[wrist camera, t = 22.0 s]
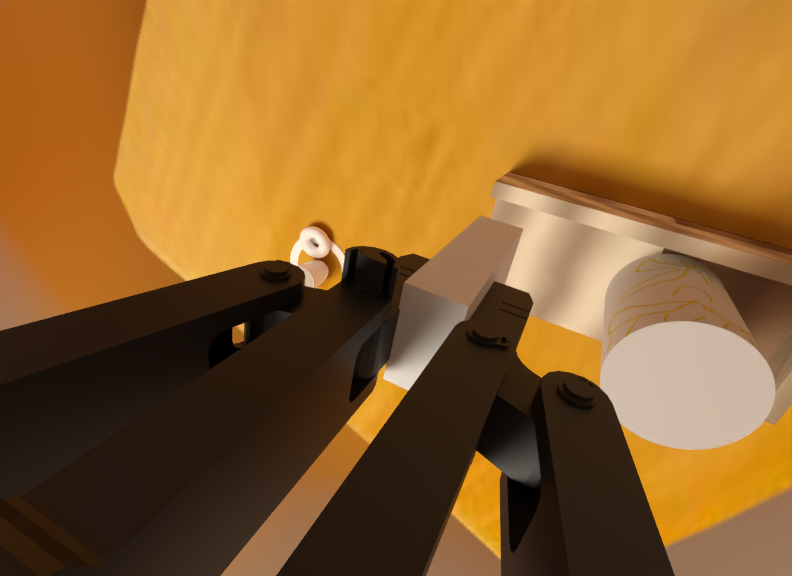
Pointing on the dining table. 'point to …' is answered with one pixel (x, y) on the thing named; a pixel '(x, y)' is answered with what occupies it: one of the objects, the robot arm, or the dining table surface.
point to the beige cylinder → (681, 356)
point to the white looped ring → (315, 255)
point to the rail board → (628, 241)
